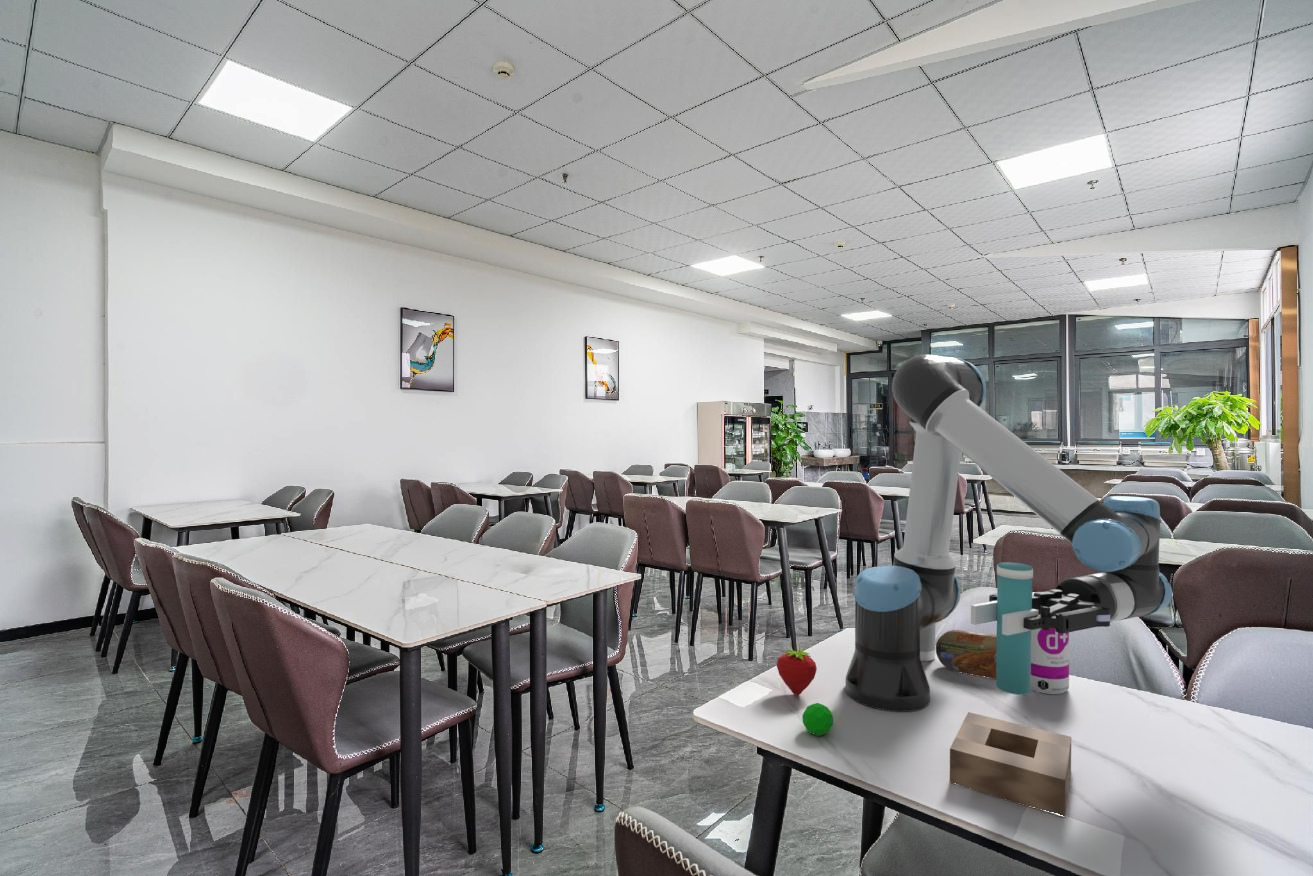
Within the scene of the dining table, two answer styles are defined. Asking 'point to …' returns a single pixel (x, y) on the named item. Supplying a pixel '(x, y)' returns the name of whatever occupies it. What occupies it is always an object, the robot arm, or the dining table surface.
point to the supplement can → (1049, 661)
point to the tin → (968, 652)
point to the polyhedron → (817, 719)
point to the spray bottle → (927, 643)
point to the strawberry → (796, 670)
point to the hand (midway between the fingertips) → (988, 619)
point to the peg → (1015, 647)
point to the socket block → (1012, 762)
